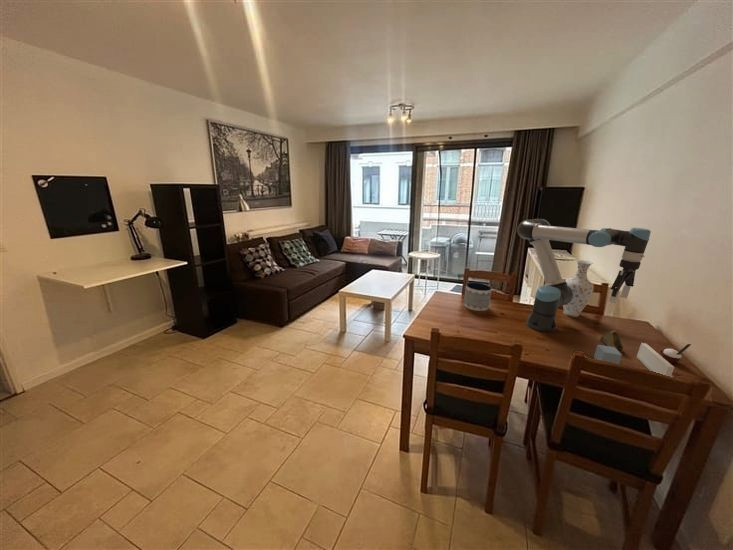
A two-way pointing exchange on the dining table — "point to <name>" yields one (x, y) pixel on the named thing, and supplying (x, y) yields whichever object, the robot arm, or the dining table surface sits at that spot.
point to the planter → (477, 296)
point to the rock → (612, 340)
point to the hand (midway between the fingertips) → (617, 300)
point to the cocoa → (673, 354)
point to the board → (654, 360)
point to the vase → (579, 289)
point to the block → (607, 354)
